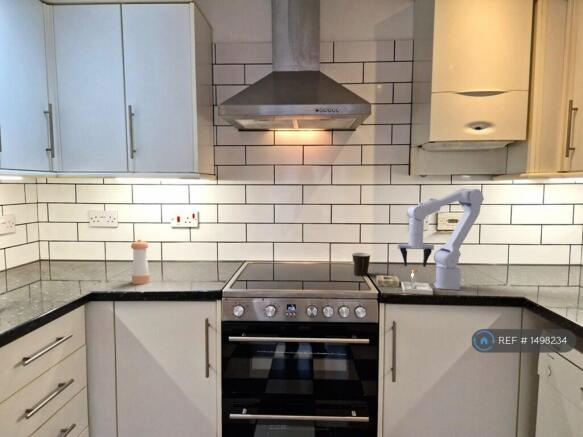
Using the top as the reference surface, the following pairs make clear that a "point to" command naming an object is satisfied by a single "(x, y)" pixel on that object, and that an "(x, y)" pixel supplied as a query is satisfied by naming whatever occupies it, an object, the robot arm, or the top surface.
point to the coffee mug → (361, 263)
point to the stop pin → (414, 279)
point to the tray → (421, 288)
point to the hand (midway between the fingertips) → (414, 266)
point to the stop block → (387, 281)
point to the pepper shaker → (140, 263)
